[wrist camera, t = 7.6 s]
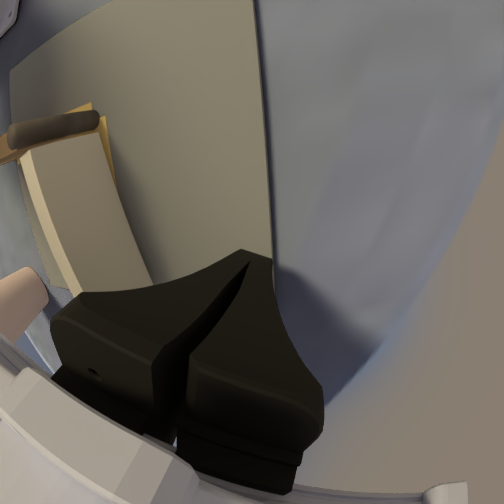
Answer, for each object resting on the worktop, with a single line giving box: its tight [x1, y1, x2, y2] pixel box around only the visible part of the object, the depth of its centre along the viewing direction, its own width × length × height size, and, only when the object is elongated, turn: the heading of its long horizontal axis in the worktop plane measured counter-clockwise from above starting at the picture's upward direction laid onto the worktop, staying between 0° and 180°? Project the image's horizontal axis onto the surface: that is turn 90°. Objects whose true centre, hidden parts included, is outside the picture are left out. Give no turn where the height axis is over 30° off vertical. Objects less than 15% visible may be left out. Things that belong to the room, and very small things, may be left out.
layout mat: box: [9, 0, 275, 293], centre depth 12 cm, size 16×16×1 cm
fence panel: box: [20, 132, 154, 298], centre depth 11 cm, size 8×1×4 cm, turn 15°
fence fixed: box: [0, 110, 100, 165], centre depth 10 cm, size 1×10×5 cm, turn 95°
